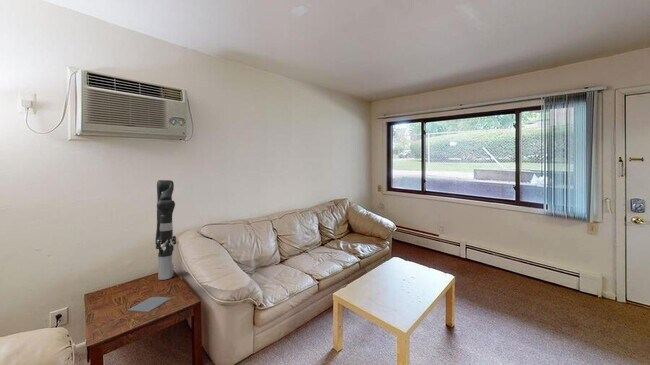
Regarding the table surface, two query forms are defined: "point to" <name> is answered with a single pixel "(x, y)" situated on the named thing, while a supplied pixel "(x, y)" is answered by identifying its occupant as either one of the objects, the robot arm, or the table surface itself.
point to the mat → (149, 304)
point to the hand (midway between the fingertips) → (166, 253)
